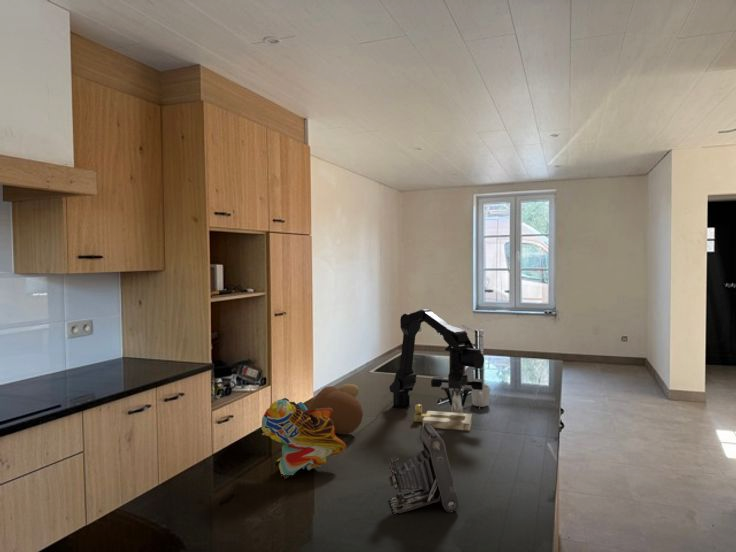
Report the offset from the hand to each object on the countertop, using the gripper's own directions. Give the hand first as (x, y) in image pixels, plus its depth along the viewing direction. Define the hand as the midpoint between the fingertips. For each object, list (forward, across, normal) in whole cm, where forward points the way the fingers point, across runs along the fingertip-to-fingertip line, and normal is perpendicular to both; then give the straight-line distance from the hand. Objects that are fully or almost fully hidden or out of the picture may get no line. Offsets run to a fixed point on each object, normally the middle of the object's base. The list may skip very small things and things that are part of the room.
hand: (457, 405), depth 190 cm
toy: (+7, -41, -20) cm, 46 cm away
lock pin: (+7, -13, 0) cm, 15 cm away
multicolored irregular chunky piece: (+7, -40, -52) cm, 66 cm away
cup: (+7, +7, +26) cm, 28 cm away
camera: (+7, -2, -66) cm, 66 cm away
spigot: (+2, 0, 0) cm, 2 cm away
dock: (+7, -4, 0) cm, 8 cm away
